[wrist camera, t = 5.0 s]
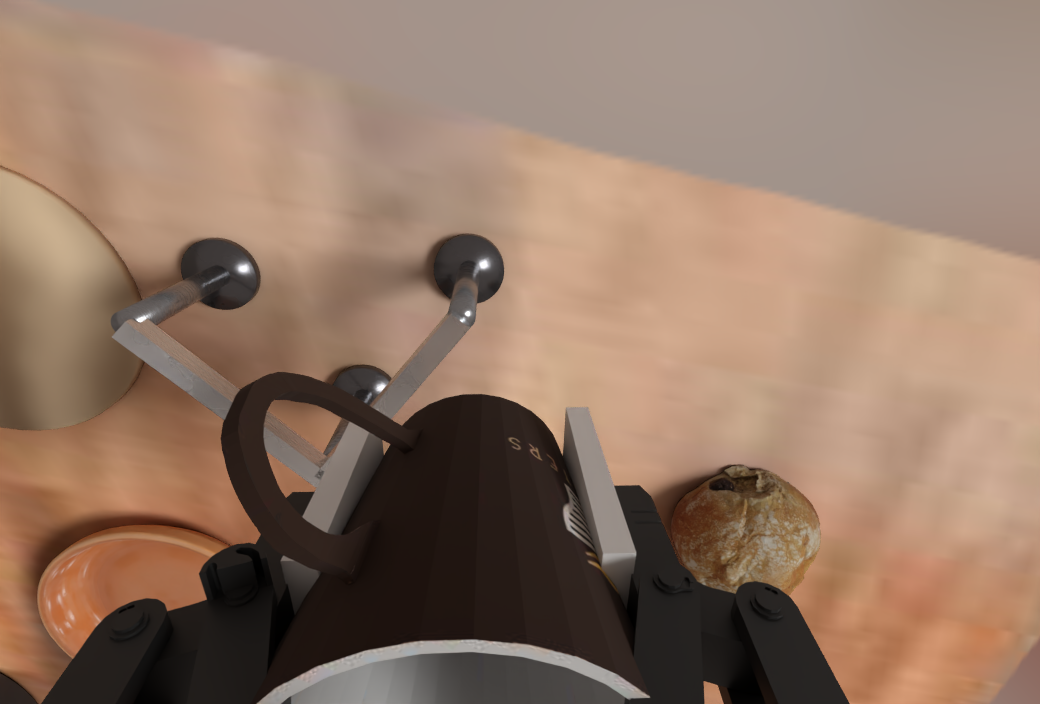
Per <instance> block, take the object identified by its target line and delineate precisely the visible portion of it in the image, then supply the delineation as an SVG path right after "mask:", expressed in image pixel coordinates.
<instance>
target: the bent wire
mask: <svg viewBox="0 0 1040 704" xmlns="http://www.w3.org/2000/svg"><path fill="white" fill-rule="evenodd" d="M181 273H182V277H183V281H180V282H178V283H176V284H174V285H172V286H170V287H168V288H166V289H164V290H162V291H160V292H158V293H156V294H153V295H151V296H149V297H147V298H145V299H143V300H141V301H139V302H137V303H135V304H133V305H131V306H129V307H126V308H124V309H122V310H120V311H118V312H116V313H114V314H113V315H112V317H111V326H112V328H113V329H114V331H115V332H116V333H115V334H114V335H113V336H112V338H113V339H115V340H116V341H117V342H119V343H120V344H121V345H123V346H124V347H126V348H127V349H128V350H130V351H131V352H132V353H134V354H135V355H136V356H138V357H139V358H140V359H142V360H143V361H145V362H146V363H147V364H149V365H150V366H151V367H153V368H154V369H155V370H157V371H158V372H160V373H161V374H162V375H164V376H165V377H166V378H168V379H169V380H170V381H172V382H173V383H174V384H176V385H177V386H179V387H180V388H181V389H183V390H184V391H185V392H187V393H188V394H189V395H191V396H192V397H193V398H195V399H196V400H198V401H199V402H200V403H202V404H203V405H204V406H206V407H207V408H208V409H210V410H211V411H213V412H214V413H215V414H217V415H218V416H219V417H221V418H222V419H223V420H225V418H226V416H227V413H228V411H229V409H230V407H231V405H232V402H233V400H234V398H235V396H236V394H237V393H238V392H239V391H240V389H238V388H237V387H236V386H234V385H233V384H232V383H230V382H229V381H228V380H227V379H225V378H224V377H223V376H221V375H220V374H219V373H217V372H216V371H215V370H214V369H212V368H211V367H210V366H208V365H207V364H206V363H204V362H203V361H202V360H201V359H199V358H198V357H197V356H195V355H194V354H193V353H191V352H190V351H189V350H188V349H186V348H185V347H184V346H182V345H181V344H180V343H178V342H177V341H176V340H174V339H173V338H172V337H171V336H169V335H168V334H167V333H165V332H164V331H163V330H161V329H160V328H159V327H158V326H156V325H158V324H159V323H161V322H163V321H165V320H166V319H168V318H170V317H171V316H173V315H175V314H177V313H178V312H180V311H182V310H184V309H185V308H187V307H189V306H191V305H192V304H194V303H196V302H197V301H199V300H200V301H201V302H203V303H204V304H206V305H208V306H211V307H213V308H217V309H222V310H230V309H236V308H239V307H241V306H243V305H245V304H246V303H247V302H249V301H250V300H251V299H253V297H254V296H255V295H256V294H257V292H258V290H259V287H260V272H259V268H258V266H257V263H256V262H255V260H254V258H253V257H252V256H251V254H250V253H249V252H248V251H247V250H246V249H244V248H243V247H242V246H240V245H239V244H237V243H235V242H233V241H230V240H227V239H222V238H210V239H206V240H203V241H200V242H198V243H196V244H194V245H192V246H191V247H190V248H189V249H188V250H187V251H186V252H185V254H184V256H183V258H182V262H181ZM434 275H435V279H436V282H437V284H438V286H439V288H440V289H441V290H442V292H443V293H444V294H445V295H446V296H448V297H449V298H450V299H451V303H450V307H449V311H448V313H447V314H446V315H445V317H444V318H443V319H442V320H441V321H440V322H439V324H438V325H437V326H436V327H435V328H434V330H433V331H432V332H431V333H430V334H429V336H428V337H427V338H426V339H425V340H424V341H423V343H422V344H421V345H420V346H419V347H418V349H417V350H416V351H415V352H414V353H413V355H412V356H411V357H410V358H409V359H408V360H407V362H406V363H405V364H404V365H403V366H402V368H401V369H400V370H399V371H398V372H397V373H396V375H395V376H394V377H393V378H392V379H391V377H390V376H389V375H388V374H387V373H385V372H384V371H382V370H381V369H379V368H376V367H374V366H369V365H356V366H352V367H349V368H347V369H346V370H344V371H343V372H342V373H341V374H340V375H339V376H338V377H337V379H336V380H335V382H334V384H333V386H336V387H338V388H340V389H342V390H344V391H346V392H348V393H349V394H351V395H353V396H354V397H356V398H358V399H359V400H361V401H363V402H364V403H366V404H368V405H369V406H371V407H373V408H374V409H379V412H381V413H382V414H384V415H385V416H387V417H389V418H390V419H392V418H393V416H394V415H395V414H396V413H397V412H398V411H399V409H400V408H401V407H402V406H403V405H404V404H405V403H406V401H407V400H408V399H409V398H410V397H411V396H412V394H413V393H414V392H415V391H416V390H417V389H418V388H419V386H420V385H421V384H422V383H423V382H424V381H425V380H426V378H427V377H428V376H429V375H430V374H431V373H432V371H433V370H434V369H435V368H436V367H437V366H438V365H439V363H440V362H441V361H442V360H443V359H444V358H445V357H446V355H447V354H448V353H449V352H450V351H451V350H452V348H453V347H454V346H455V345H456V344H457V343H458V342H459V340H460V339H461V338H462V337H463V336H464V335H465V333H466V332H467V331H468V330H469V329H470V327H471V326H472V325H473V324H474V322H475V318H476V306H477V303H481V302H484V301H486V300H488V299H489V298H490V297H492V296H493V295H494V294H495V293H496V292H497V291H498V289H499V288H500V286H501V283H502V281H503V276H504V264H503V259H502V256H501V254H500V252H499V250H498V249H497V247H496V246H495V245H494V244H493V243H492V242H491V241H489V240H488V239H486V238H484V237H482V236H479V235H475V234H462V235H458V236H455V237H453V238H451V239H450V240H448V241H447V242H446V243H445V244H444V245H443V246H442V247H441V248H440V250H439V252H438V254H437V256H436V259H435V263H434ZM349 422H350V421H348V420H346V419H344V418H342V419H341V421H340V423H339V424H338V426H337V428H336V430H335V432H334V434H333V436H332V438H331V440H330V442H329V444H328V445H327V447H326V449H325V451H324V453H322V452H320V451H319V450H318V449H316V448H315V447H314V446H313V445H311V444H310V443H309V442H307V441H306V440H305V439H303V438H302V437H301V436H299V435H298V434H297V433H296V432H294V431H293V430H292V429H290V428H289V427H288V426H286V425H285V424H284V423H283V422H281V421H280V420H279V419H277V418H276V417H275V416H273V415H272V414H271V413H270V412H268V411H267V413H266V418H265V422H264V444H265V449H266V451H267V452H268V453H270V454H271V455H272V456H274V457H275V458H276V459H278V460H279V461H280V462H282V463H283V464H285V465H286V466H287V467H289V468H290V469H291V470H293V471H294V472H295V473H297V474H298V475H299V476H301V477H302V478H304V479H305V480H306V481H308V482H309V483H310V484H312V485H313V486H314V487H317V486H318V484H319V482H320V480H321V478H322V476H323V474H324V472H325V470H326V468H327V466H328V464H329V462H330V460H331V458H332V456H333V454H334V452H335V450H336V448H337V446H338V444H339V442H340V440H341V438H342V436H343V434H344V432H345V430H346V428H347V426H348V424H349Z"/></svg>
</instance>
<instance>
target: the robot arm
mask: <svg viewBox="0 0 1040 704" xmlns="http://www.w3.org/2000/svg"><path fill="white" fill-rule="evenodd" d="M376 410H378V411H379V409H376ZM383 457H384V454H383V445H382V439H380V438H378V437H376V436H375V435H373V434H371V433H369V432H368V431H366V430H364V429H363V428H361V427H359V426H357V425H355V424H353V423H351V422H349V424H348V426H347V428H346V430H345V432H344V434H343V436H342V438H341V440H340V442H339V444H338V446H337V448H336V450H335V452H334V454H333V456H332V458H331V460H330V462H329V464H328V466H327V468H326V470H325V472H324V474H323V476H322V478H321V480H320V482H319V484H318V486H317V488H316V490H315V492H293V493H291V494H290V495H289V496H288V497H287V498H286V499H287V501H288V502H289V503H290V504H291V506H292V507H293V508H294V509H295V510H296V511H297V512H298V513H299V514H300V515H301V516H302V517H303V518H304V519H305V520H307V521H308V522H310V523H311V524H313V525H314V526H316V527H317V528H319V529H320V530H322V531H324V532H326V533H329V534H334V535H341V534H342V532H343V530H344V528H345V527H346V525H347V523H348V521H349V519H350V517H351V515H352V513H353V511H354V510H355V508H356V506H357V504H358V502H359V500H360V498H361V496H362V494H363V493H364V491H365V489H366V487H367V485H368V484H369V482H370V480H371V478H372V476H373V475H374V473H375V471H376V469H377V468H378V466H379V464H380V462H381V460H382V459H383ZM563 458H564V461H565V463H566V466H567V468H568V471H569V474H570V476H571V479H572V481H573V484H574V486H575V489H576V492H577V495H578V498H579V501H580V504H581V507H582V510H583V513H584V516H585V519H586V522H587V525H588V528H589V532H590V535H591V538H592V541H593V544H594V547H595V550H596V553H597V556H598V559H599V562H600V565H601V568H602V570H603V571H604V572H605V573H606V575H607V576H608V577H609V578H610V579H611V581H612V582H613V583H614V584H615V586H616V588H617V590H618V592H619V594H620V597H621V599H622V601H623V603H624V605H625V608H626V610H627V612H628V615H629V617H630V620H631V622H632V625H633V627H634V629H635V634H634V660H635V662H636V664H637V667H638V669H639V671H640V674H641V676H642V678H643V681H644V683H645V686H646V688H647V690H648V693H649V695H650V698H630V700H629V699H627V698H626V697H625V702H624V704H704V684H703V681H706V682H710V683H713V684H716V685H718V687H719V690H720V693H721V696H722V700H723V703H724V704H849V702H848V700H847V698H846V696H845V694H844V692H843V691H842V689H841V687H840V685H839V683H838V681H837V680H836V678H835V676H834V674H833V672H832V670H831V668H830V667H829V665H828V663H827V661H826V659H825V657H824V655H823V654H822V652H821V650H820V648H819V646H818V644H817V642H816V641H815V639H814V637H813V635H812V633H811V631H810V629H809V628H808V626H807V624H806V622H805V620H804V618H803V616H802V615H801V613H800V611H799V609H798V607H797V606H796V604H795V603H794V602H793V600H792V599H791V598H790V597H789V596H788V595H787V594H785V593H784V592H783V591H782V590H780V589H779V588H776V587H774V586H772V585H770V584H768V583H763V582H757V581H753V582H745V583H744V584H742V585H741V586H739V587H738V589H737V592H736V594H735V593H731V592H727V591H723V590H719V589H715V588H711V587H709V586H706V585H703V584H701V583H699V582H698V581H697V580H696V578H695V577H694V576H693V575H692V573H691V572H690V571H689V570H687V569H686V568H685V567H683V566H682V565H680V563H679V561H678V559H677V556H676V554H675V552H674V549H673V547H672V545H671V542H670V540H669V538H668V535H667V533H666V531H665V528H664V526H663V524H662V523H661V519H660V516H659V514H658V513H657V509H656V507H655V505H654V502H653V500H652V498H651V496H650V495H649V494H648V493H647V492H646V491H645V490H644V489H643V488H642V487H640V486H639V485H634V486H614V484H613V481H612V478H611V475H610V472H609V469H608V466H607V463H606V460H605V457H604V454H603V451H602V448H601V445H600V442H599V439H598V436H597V433H596V430H595V427H594V424H593V421H592V418H591V415H590V412H589V409H588V407H566V414H565V431H564V448H563ZM320 574H321V572H320V571H317V570H314V569H311V568H308V567H306V566H304V565H302V564H300V563H298V562H296V561H294V560H292V559H289V558H287V557H285V556H283V555H282V554H280V553H279V552H277V551H276V550H275V549H273V548H272V546H271V545H270V544H269V543H268V542H267V541H266V540H265V539H264V537H263V536H262V535H261V536H260V537H259V539H258V541H257V543H256V544H251V543H245V544H236V545H234V546H231V547H228V548H225V549H223V550H221V551H220V552H218V553H216V554H215V555H213V556H212V557H211V558H210V559H209V560H208V561H207V562H206V563H205V564H204V565H203V567H202V568H201V570H200V572H199V576H200V579H201V583H202V586H203V589H204V592H205V595H206V598H207V600H204V601H201V602H198V603H195V604H191V605H188V606H184V607H181V608H177V609H173V610H170V611H167V608H166V606H165V603H163V602H162V601H160V600H158V599H151V598H145V599H141V600H136V601H132V602H130V603H128V604H126V605H123V606H121V607H119V608H117V609H116V610H114V611H113V612H112V613H110V614H109V615H107V616H106V617H105V618H104V619H103V620H102V621H101V622H100V623H99V624H98V625H97V626H96V627H95V629H94V630H93V631H92V633H91V634H90V636H89V637H88V638H87V640H86V641H85V643H84V644H83V646H82V647H81V648H80V650H79V651H78V653H77V654H76V655H75V657H74V658H73V660H72V661H71V662H70V664H69V665H68V667H67V668H66V670H65V671H64V672H63V674H62V675H61V677H60V678H59V679H58V681H57V682H56V684H55V685H54V686H53V688H52V689H51V691H50V692H49V693H48V695H47V696H46V698H45V699H44V701H43V702H42V703H41V704H251V702H252V700H253V698H254V697H255V695H256V693H257V691H258V690H259V688H260V686H261V685H262V683H263V681H264V679H265V678H266V676H267V673H268V669H269V667H270V664H271V662H272V659H273V657H274V654H275V650H276V648H277V646H278V645H279V643H280V641H281V639H282V637H283V636H284V634H285V632H286V630H287V628H288V627H289V625H290V623H291V621H292V620H293V618H294V616H295V614H296V612H297V611H298V609H299V607H300V605H301V603H302V602H303V600H304V598H305V596H306V595H307V593H308V592H309V590H310V589H311V588H312V586H313V585H314V583H315V582H316V580H317V579H318V577H319V576H320ZM0 704H37V703H36V702H35V700H34V699H33V698H32V697H31V696H30V695H29V694H28V693H27V692H26V691H25V690H24V689H23V688H21V687H20V686H19V685H18V684H16V683H15V682H13V681H12V680H10V679H9V678H7V677H6V676H4V675H2V674H0ZM281 704H291V696H290V697H288V698H287V699H286V700H285V701H284V702H282V703H281Z"/></svg>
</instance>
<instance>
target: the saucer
mask: <svg viewBox="0 0 1040 704" xmlns="http://www.w3.org/2000/svg"><path fill="white" fill-rule="evenodd" d="M228 547H230V546H229V545H227V544H225V543H223V542H222V541H220V540H218V539H216V538H213V537H211V536H208V535H206V534H203V533H200V532H196V531H193V530H189V529H183V528H178V527H171V526H163V525H129V526H120V527H114V528H110V529H106V530H102V531H99V532H96V533H93V534H91V535H89V536H86V537H84V538H82V539H80V540H79V541H77V542H75V543H74V544H72V545H71V546H70V547H68V548H67V549H65V550H64V551H63V552H61V553H60V554H59V555H58V556H57V557H55V558H54V559H53V560H52V562H51V563H50V564H49V565H48V566H47V568H46V569H45V571H44V573H43V574H42V577H41V579H40V582H39V585H38V591H37V604H38V610H39V614H40V617H41V620H42V622H43V624H44V626H45V628H46V630H47V631H48V633H49V634H50V636H51V637H52V638H53V640H54V641H55V642H56V643H57V644H58V645H59V647H60V648H61V649H63V650H64V651H65V652H66V653H67V654H68V655H69V656H70V657H72V658H74V657H75V655H76V654H77V653H78V651H79V650H80V648H81V647H82V646H83V644H84V643H85V641H86V640H87V638H88V637H89V636H90V634H91V633H92V631H93V630H94V629H95V627H96V626H97V625H98V624H99V623H100V622H101V621H102V620H103V619H104V618H105V617H106V616H107V615H109V614H110V613H112V612H113V611H114V610H116V609H117V608H119V607H121V606H123V605H126V604H128V603H130V602H132V601H136V600H141V599H145V598H151V599H158V600H160V601H162V602H163V603H165V606H166V608H167V611H170V610H173V609H177V608H181V607H184V606H188V605H191V604H195V603H198V602H201V601H204V600H207V598H206V595H205V592H204V589H203V586H202V583H201V579H200V576H199V572H200V570H201V568H202V567H203V565H204V564H205V563H206V562H207V561H208V560H209V559H210V558H211V557H212V556H213V555H215V554H216V553H218V552H220V551H221V550H223V549H225V548H228Z"/></svg>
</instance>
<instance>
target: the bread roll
mask: <svg viewBox="0 0 1040 704" xmlns="http://www.w3.org/2000/svg"><path fill="white" fill-rule="evenodd" d="M671 536H672V539H673V542H674V545H675V547H676V550H677V552H678V554H679V556H680V558H681V560H682V562H683V564H684V566H685V567H686V569H687V570H689V571H690V572H691V573H692V575H693V576H694V577H695V578H696V580H697V581H698V582H699V583H701V584H703V585H706V586H709V587H711V588H715V589H719V590H723V591H727V592H731V593H735V594H736V592H737V589H738V587H739V586H741V585H742V584H744V583H745V582H753V581H757V582H763V583H768V584H770V585H772V586H774V587H776V588H779V589H780V590H782V591H783V592H784V593H785V594H787V595H788V596H789V595H790V594H791V593H792V592H793V591H794V589H795V588H796V586H798V585H799V584H800V583H801V582H802V580H803V579H804V574H805V572H806V571H807V570H808V568H809V566H810V565H811V563H812V562H813V561H814V559H815V557H816V555H817V552H818V550H819V547H820V542H821V531H820V522H819V518H818V515H817V513H816V511H815V509H814V507H813V505H812V504H811V503H810V502H809V500H808V499H807V498H806V497H805V496H804V495H803V494H802V493H800V492H799V491H798V490H797V489H796V488H795V487H793V486H792V485H791V484H790V483H789V482H786V481H784V480H783V479H781V478H780V477H779V476H777V475H776V474H774V473H772V472H770V471H766V470H749V469H748V468H747V467H746V466H744V465H737V466H732V467H730V468H728V469H726V470H724V472H723V473H721V474H719V475H717V476H716V477H713V478H711V479H709V480H707V481H706V482H704V483H703V484H701V485H700V486H699V487H697V488H696V489H695V490H693V491H691V492H689V493H687V494H686V495H685V496H684V497H683V498H682V499H681V500H680V501H679V503H678V504H677V506H676V508H675V510H674V513H673V517H672V521H671Z"/></svg>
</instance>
